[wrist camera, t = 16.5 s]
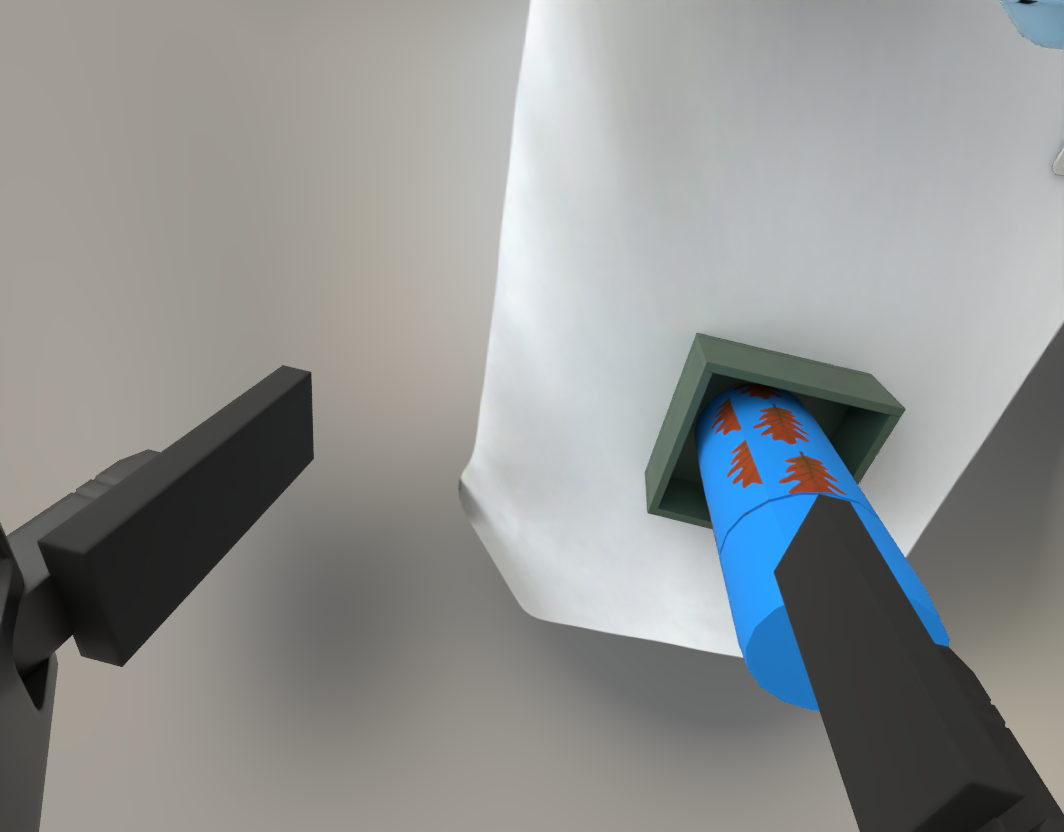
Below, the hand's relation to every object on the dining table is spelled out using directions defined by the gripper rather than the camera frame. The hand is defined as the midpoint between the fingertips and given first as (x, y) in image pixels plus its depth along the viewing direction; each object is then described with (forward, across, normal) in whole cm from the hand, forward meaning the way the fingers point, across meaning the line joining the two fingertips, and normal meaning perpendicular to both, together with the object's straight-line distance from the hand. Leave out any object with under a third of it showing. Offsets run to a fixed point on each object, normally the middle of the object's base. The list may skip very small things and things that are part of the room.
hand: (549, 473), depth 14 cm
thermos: (+36, +19, -15) cm, 43 cm away
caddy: (+37, +19, -15) cm, 44 cm away
